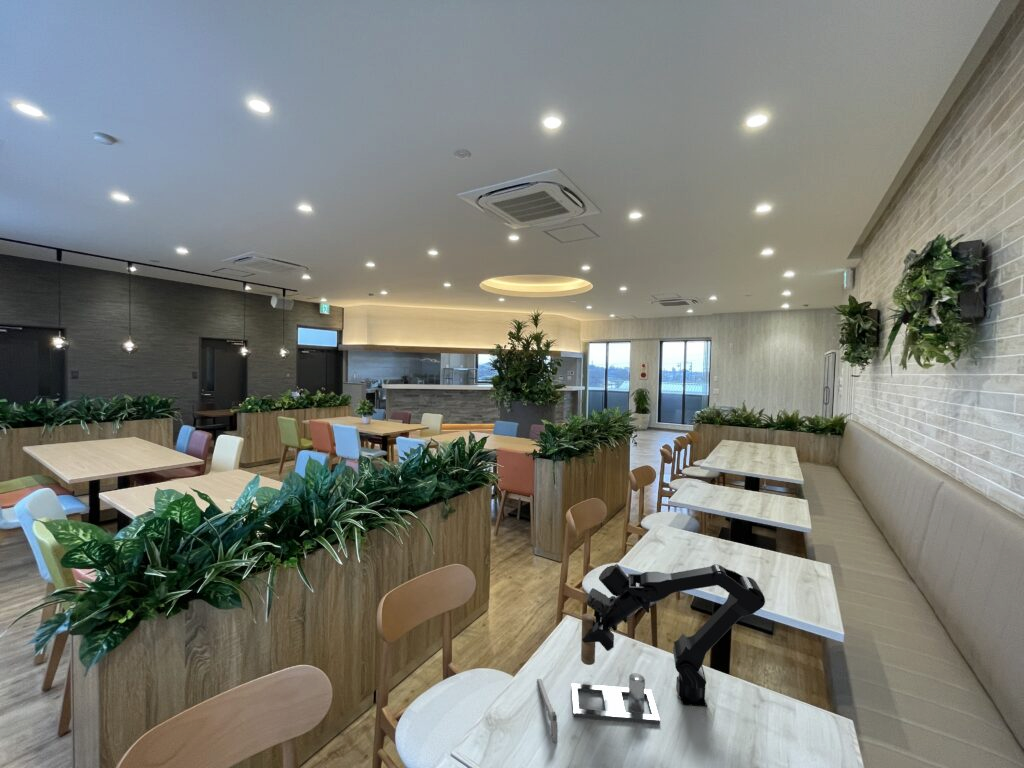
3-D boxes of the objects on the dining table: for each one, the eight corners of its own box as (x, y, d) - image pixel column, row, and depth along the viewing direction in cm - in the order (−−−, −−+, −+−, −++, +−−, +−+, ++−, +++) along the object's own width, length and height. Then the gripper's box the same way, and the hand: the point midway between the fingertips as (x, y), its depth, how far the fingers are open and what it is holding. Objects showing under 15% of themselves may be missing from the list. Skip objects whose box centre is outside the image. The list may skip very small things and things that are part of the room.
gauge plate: (650, 693, 119) (650, 689, 118) (659, 724, 109) (660, 720, 109) (571, 687, 120) (571, 683, 120) (573, 717, 110) (573, 712, 110)
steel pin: (642, 701, 116) (643, 673, 115) (645, 713, 112) (646, 685, 111) (627, 700, 116) (628, 672, 116) (629, 712, 112) (630, 683, 112)
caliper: (557, 743, 103) (558, 719, 103) (553, 744, 103) (553, 720, 103) (540, 680, 123) (540, 659, 123) (536, 680, 123) (537, 659, 123)
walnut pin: (594, 655, 126) (595, 613, 126) (595, 665, 122) (596, 622, 122) (580, 654, 127) (581, 613, 126) (581, 664, 123) (582, 621, 122)
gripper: (605, 568, 131) (568, 597, 135) (601, 602, 113) (560, 634, 117) (630, 596, 130) (593, 625, 133) (631, 635, 112) (588, 667, 115)
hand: (583, 636), depth 125 cm, fingers closed on walnut pin, 4 cm apart
